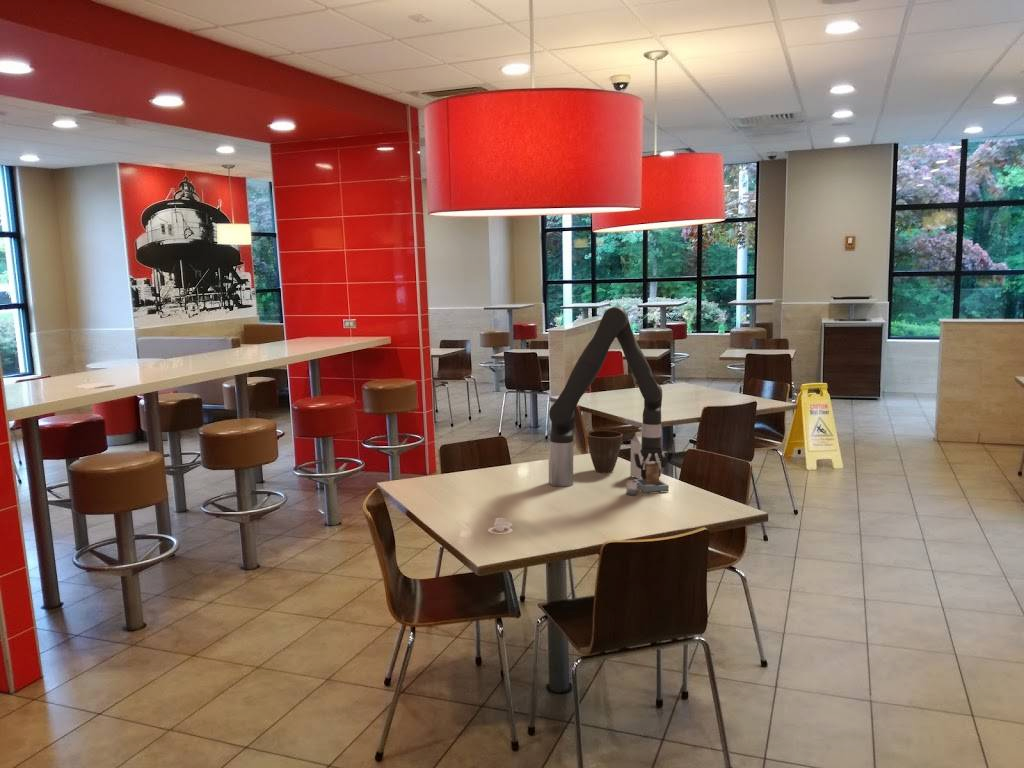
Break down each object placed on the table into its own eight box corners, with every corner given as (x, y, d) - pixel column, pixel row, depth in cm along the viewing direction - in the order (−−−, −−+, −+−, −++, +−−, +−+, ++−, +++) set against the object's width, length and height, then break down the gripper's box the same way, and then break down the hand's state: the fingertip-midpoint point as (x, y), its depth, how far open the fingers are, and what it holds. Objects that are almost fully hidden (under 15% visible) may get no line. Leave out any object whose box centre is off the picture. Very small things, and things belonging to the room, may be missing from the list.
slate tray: (643, 493, 312) (643, 486, 312) (633, 485, 324) (633, 479, 324) (668, 491, 314) (668, 485, 314) (657, 484, 326) (657, 478, 326)
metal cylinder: (628, 496, 308) (628, 483, 308) (624, 493, 312) (625, 480, 311) (638, 495, 309) (638, 482, 308) (635, 493, 313) (635, 480, 312)
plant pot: (619, 476, 340) (620, 437, 338) (584, 474, 343) (584, 436, 341) (623, 468, 354) (624, 431, 352) (589, 466, 358) (589, 430, 356)
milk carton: (630, 476, 339) (630, 431, 337) (644, 474, 342) (645, 429, 340) (639, 480, 333) (640, 434, 330) (654, 478, 336) (655, 432, 333)
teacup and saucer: (507, 526, 272) (507, 514, 272) (519, 532, 265) (519, 520, 265) (483, 530, 268) (483, 517, 268) (494, 536, 261) (494, 524, 261)
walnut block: (646, 483, 316) (647, 465, 315) (642, 480, 321) (642, 463, 320) (659, 483, 317) (659, 465, 316) (654, 480, 322) (654, 462, 321)
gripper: (637, 437, 312) (636, 481, 314) (672, 436, 314) (671, 479, 316) (630, 433, 319) (629, 477, 321) (665, 432, 321) (664, 475, 324)
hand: (650, 478), depth 319 cm, fingers closed on walnut block, 4 cm apart
